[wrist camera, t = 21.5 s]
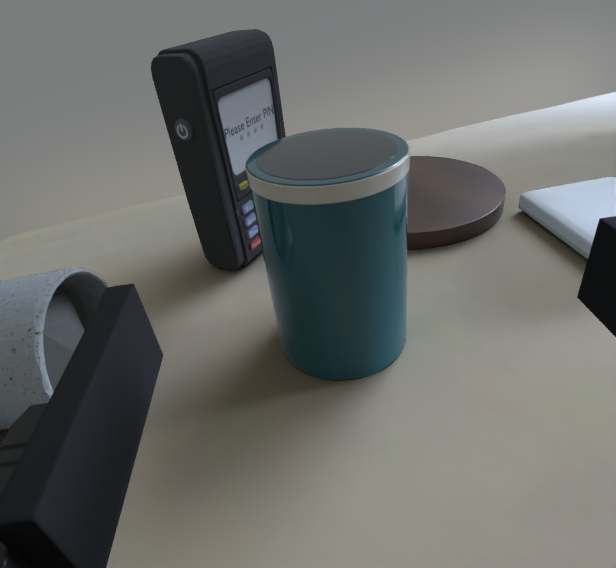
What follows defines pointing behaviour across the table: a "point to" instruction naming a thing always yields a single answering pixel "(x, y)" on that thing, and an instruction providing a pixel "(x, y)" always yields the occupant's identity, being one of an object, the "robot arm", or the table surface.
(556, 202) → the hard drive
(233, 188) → the card reader
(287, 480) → the table surface
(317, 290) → the tumbler
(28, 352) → the ceramic mug
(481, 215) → the plate
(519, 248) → the table surface
